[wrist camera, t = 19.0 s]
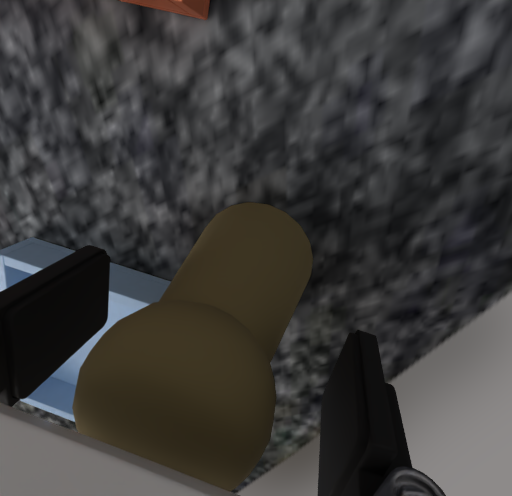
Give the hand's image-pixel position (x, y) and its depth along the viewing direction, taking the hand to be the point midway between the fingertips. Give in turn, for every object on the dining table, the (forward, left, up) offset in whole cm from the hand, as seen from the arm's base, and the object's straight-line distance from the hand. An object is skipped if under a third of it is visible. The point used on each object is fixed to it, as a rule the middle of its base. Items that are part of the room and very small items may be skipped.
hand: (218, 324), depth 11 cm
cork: (0, +1, -7) cm, 7 cm away
